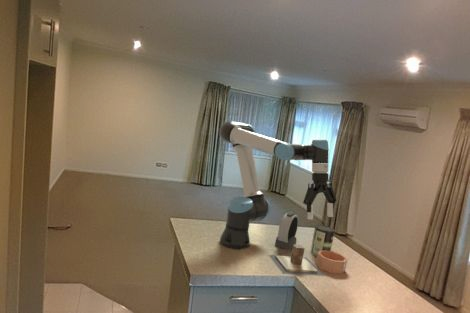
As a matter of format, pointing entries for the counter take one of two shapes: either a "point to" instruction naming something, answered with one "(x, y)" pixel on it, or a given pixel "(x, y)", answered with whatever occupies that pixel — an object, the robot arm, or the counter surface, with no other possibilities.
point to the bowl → (331, 261)
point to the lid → (296, 261)
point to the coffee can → (322, 239)
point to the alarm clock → (287, 231)
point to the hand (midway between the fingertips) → (320, 218)
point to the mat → (295, 272)
